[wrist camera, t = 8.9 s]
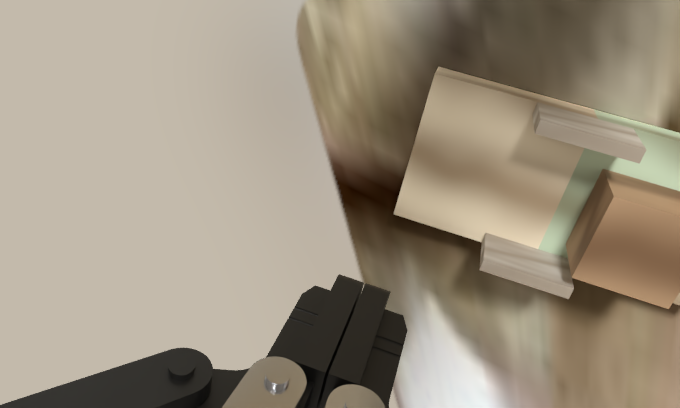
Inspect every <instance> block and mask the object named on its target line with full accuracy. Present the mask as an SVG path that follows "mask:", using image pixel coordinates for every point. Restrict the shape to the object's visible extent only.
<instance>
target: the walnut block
mask: <svg viewBox="0 0 680 408" xmlns="http://www.w3.org/2000/svg"><path fill="white" fill-rule="evenodd" d="M566 249H567V255H568V260H569V266H570V272H571V277H572V278H574V279H577V280H580V281H583V282H586V283H589V284H592V285H596V286H599V287H602V288H605V289H608V290H611V291H614V292H617V293H620V294H623V295H626V296H629V297H632V298H636V299H639V300H642V301H645V302H648V303H651V304H654V305H657V306H660V307H663V308H666V309H669V308H670V306H671V305H672V303H673V302H674V300H675V299H676V297H677V296H678V294H679V293H680V191H677V190H674V189H671V188H667V187H664V186H660V185H657V184H654V183H650V182H647V181H643V180H640V179H637V178H633V177H630V176H626V175H623V174H620V173H616V172H613V171H610V170H606V169H602V171H601V173H600V175H599V177H598V179H597V181H596V183H595V185H594V188H593V190H592V192H591V194H590V196H589V198H588V200H587V202H586V204H585V206H584V208H583V210H582V212H581V214H580V216H579V218H578V220H577V222H576V224H575V226H574V228H573V230H572V232H571V234H570V236H569V238H568V240H567V242H566Z"/></svg>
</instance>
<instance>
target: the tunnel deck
mask: <svg viewBox="0 0 680 408" xmlns="http://www.w3.org/2000/svg"><path fill="white" fill-rule="evenodd" d="M602 169H606V170H610V171H613V172H616V173H620V174H623V175H626V176H630V177H633V178H637V179H640V180H643V181H647V182H650V183H654V184H657V185H660V186H664V187H667V188H671V189H674V190H677V191H680V133H678V132H674V131H671V130H667V129H663V128H660V127H656V126H653V125H649V124H645V123H642V122H638V121H634V120H631V119H627V118H624V117H620V116H616V115H613V114H609V113H605V112H602V111H598V110H594V109H591V108H587V107H584V106H580V105H576V104H573V103H569V102H565V101H562V100H558V99H555V98H551V97H547V96H544V95H540V94H536V93H533V92H529V91H526V90H522V89H518V88H515V87H511V86H507V85H504V84H500V83H497V82H493V81H489V80H486V79H482V78H478V77H475V76H471V75H467V74H464V73H460V72H457V71H453V70H449V69H446V68H442V67H438V68H437V70H436V72H435V74H434V78H433V81H432V85H431V88H430V91H429V95H428V98H427V102H426V105H425V108H424V112H423V115H422V119H421V122H420V125H419V129H418V132H417V136H416V139H415V142H414V146H413V149H412V153H411V156H410V159H409V163H408V166H407V170H406V173H405V176H404V180H403V183H402V187H401V190H400V193H399V197H398V200H397V204H396V207H395V211H394V215H397V216H400V217H404V218H407V219H410V220H413V221H416V222H419V223H422V224H426V225H429V226H432V227H435V228H438V229H441V230H444V231H448V232H451V233H454V234H457V235H460V236H463V237H466V238H470V239H473V240H476V241H479V242H482V245H481V257H480V268H479V270H480V271H484V272H487V273H490V274H493V275H496V276H499V277H502V278H505V279H508V280H511V281H514V282H517V283H520V284H523V285H527V286H530V287H533V288H536V289H539V290H542V291H545V292H548V293H551V294H554V295H557V296H560V297H563V298H566V299H569V298H570V296H571V294H572V292H573V290H574V286H573V280H572V277H571V272H570V266H569V260H568V255H567V249H566V242H567V240H568V238H569V236H570V234H571V232H572V230H573V228H574V226H575V224H576V222H577V220H578V218H579V216H580V214H581V212H582V210H583V208H584V206H585V204H586V202H587V200H588V198H589V196H590V194H591V192H592V190H593V188H594V185H595V183H596V181H597V179H598V177H599V175H600V173H601V171H602ZM673 303H674V304H677V305H680V293H679V294H678V296H677V297H676V299H675V300H674V302H673Z"/></svg>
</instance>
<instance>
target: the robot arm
mask: <svg viewBox="0 0 680 408" xmlns="http://www.w3.org/2000/svg"><path fill="white" fill-rule="evenodd" d="M363 284H364V283H363V282H360V281H357V280H354V279H351V278H348V277H345V276H342V275H338V277H337V279H336V281H335V283H334V285H333V287H332V289H331V291H330V290H327V289H324V288H321V287H318V286H314V287H312V288H311V289H309V290H308V291H306V292H305V293H303V294H302V295H301V297H300V299H299V300H298V302H297V304H296V306H295V308H294V309H293V311H292V313H291V315H290V316H289V319H288V320H287V322H286V323H285V325H284V327H283V329H282V330H281V332H280V334H279V336H278V337H277V339H276V341H275V343H274V345H273V346H272V348H271V350H270V352H269V353H268V355H267V357H266V358H263V359H260V360H259V361H257V362H256V363H254V364H253V365H252V366H251V367H250V368H249V369H245V370H238V371H234V370H220V369H213V367H212V364H211V362H210V360H209V359H208V357H207V356H206V355H204V354H203V353H201V352H199V351H197V350H194V349H190V348H176V349H171V350H168V351H165V352H162V353H159V354H156V355H153V356H150V357H146V358H143V359H140V360H138V361H134V362H131V363H128V364H125V365H122V366H119V367H116V368H113V369H110V370H107V371H103V372H100V373H97V374H94V375H91V376H88V377H85V378H82V379H79V380H76V381H73V382H70V383H67V384H64V385H60V386H57V387H54V388H51V389H48V390H45V391H42V392H39V393H36V394H33V395H30V396H27V397H24V398H20V399H17V400H14V401H11V402H8V403H5V404H2V405H0V408H389V399H390V395H391V391H392V387H393V383H394V380H395V376H396V372H397V368H398V364H399V360H400V356H401V353H402V349H403V345H404V341H405V337H406V333H407V328H406V324H405V321H404V317H403V315H400V314H397V313H394V312H391V311H388V310H385V307H386V304H387V301H388V298H389V294H390V291H387V290H384V289H381V288H378V287H375V286H372V285H369V284H365V286H364V288H363ZM362 288H363V290H362ZM361 292H362V293H361Z"/></svg>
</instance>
